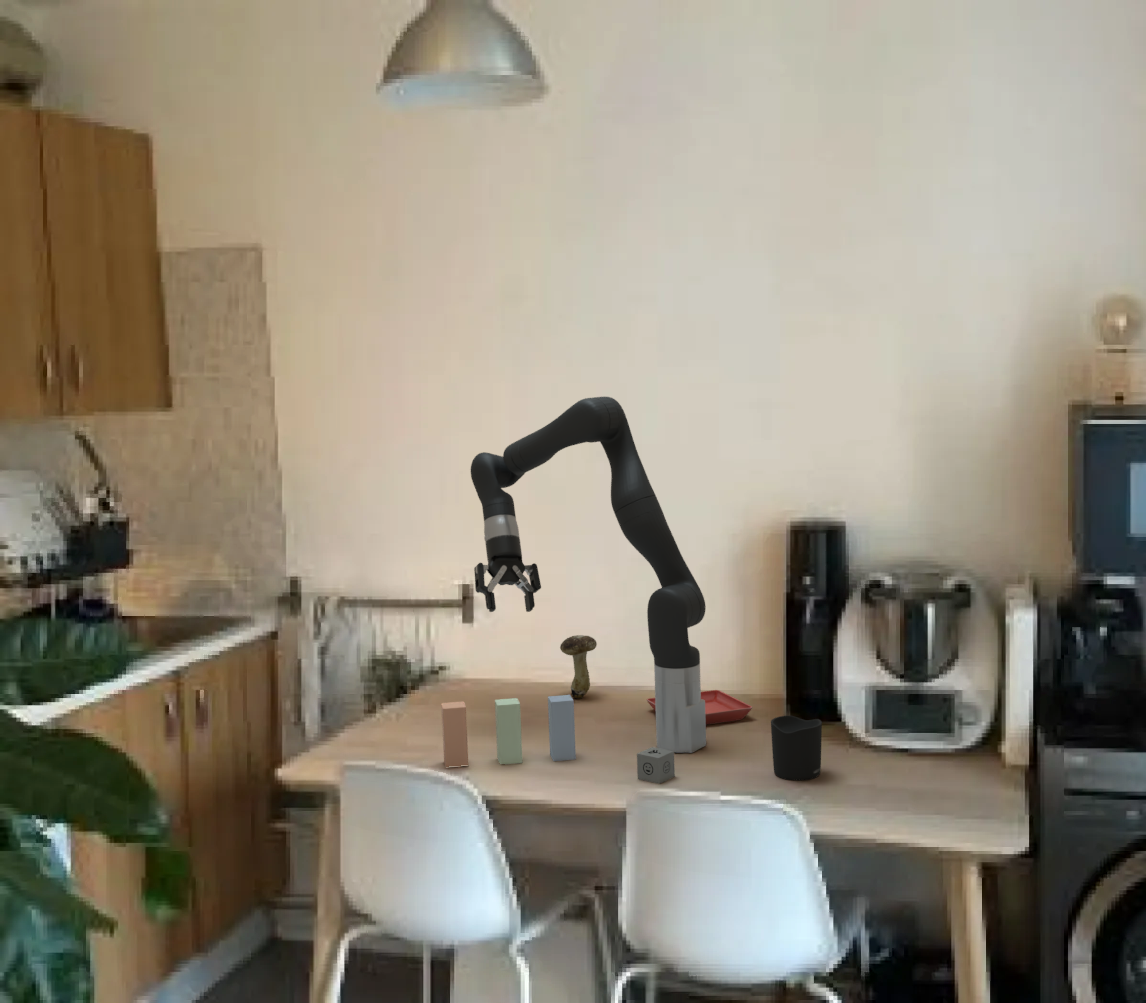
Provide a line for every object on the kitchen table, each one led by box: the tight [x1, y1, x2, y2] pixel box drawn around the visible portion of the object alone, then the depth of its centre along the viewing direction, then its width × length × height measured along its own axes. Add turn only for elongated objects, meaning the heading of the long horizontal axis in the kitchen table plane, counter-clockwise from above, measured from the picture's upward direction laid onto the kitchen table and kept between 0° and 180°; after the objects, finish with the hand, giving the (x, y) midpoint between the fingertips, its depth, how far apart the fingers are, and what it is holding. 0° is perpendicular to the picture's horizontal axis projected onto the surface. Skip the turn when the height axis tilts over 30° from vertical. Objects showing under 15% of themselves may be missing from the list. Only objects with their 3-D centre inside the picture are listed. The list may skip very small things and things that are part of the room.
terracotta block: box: [440, 701, 469, 768], centre depth 254 cm, size 4×4×12 cm
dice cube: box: [636, 746, 676, 785], centre depth 241 cm, size 5×5×5 cm
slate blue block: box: [547, 694, 577, 762], centre depth 256 cm, size 4×4×12 cm
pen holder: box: [770, 715, 823, 781], centre depth 240 cm, size 9×9×10 cm
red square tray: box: [646, 689, 753, 726], centre depth 283 cm, size 18×18×3 cm
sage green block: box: [494, 697, 523, 765], centre depth 255 cm, size 4×4×12 cm
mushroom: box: [559, 634, 598, 699], centre depth 300 cm, size 9×9×15 cm
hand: (511, 610), depth 273 cm, fingers open, 8 cm apart
